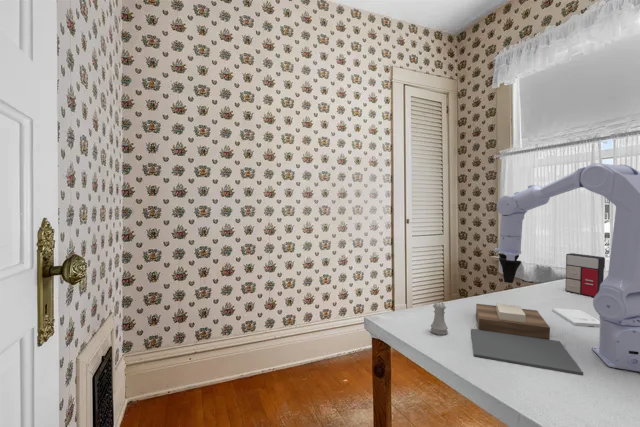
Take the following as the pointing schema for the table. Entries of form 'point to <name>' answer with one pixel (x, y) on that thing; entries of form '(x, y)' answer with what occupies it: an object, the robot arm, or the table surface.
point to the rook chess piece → (439, 320)
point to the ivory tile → (510, 313)
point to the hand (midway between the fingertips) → (507, 279)
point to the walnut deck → (512, 323)
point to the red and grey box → (584, 274)
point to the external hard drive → (577, 317)
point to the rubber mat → (523, 351)
